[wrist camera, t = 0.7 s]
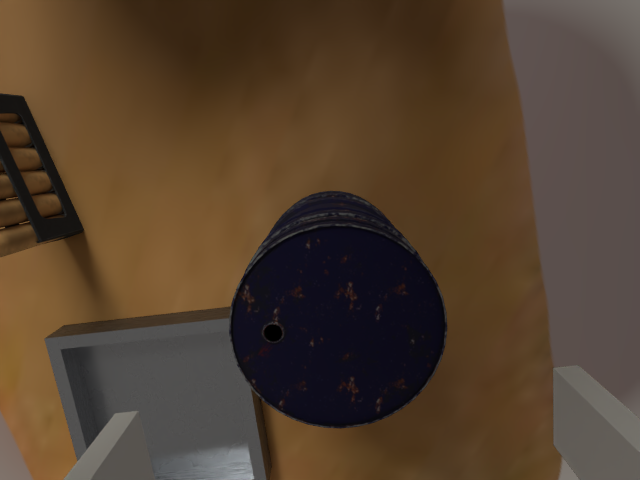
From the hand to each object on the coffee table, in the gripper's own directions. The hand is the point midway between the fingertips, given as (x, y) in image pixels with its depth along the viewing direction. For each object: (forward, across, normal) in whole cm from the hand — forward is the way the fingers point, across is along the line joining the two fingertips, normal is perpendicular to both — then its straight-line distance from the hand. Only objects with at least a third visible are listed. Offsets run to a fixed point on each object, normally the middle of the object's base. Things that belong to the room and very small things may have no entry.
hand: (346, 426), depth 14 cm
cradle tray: (+20, -15, -10) cm, 27 cm away
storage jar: (+21, 0, 0) cm, 21 cm away
